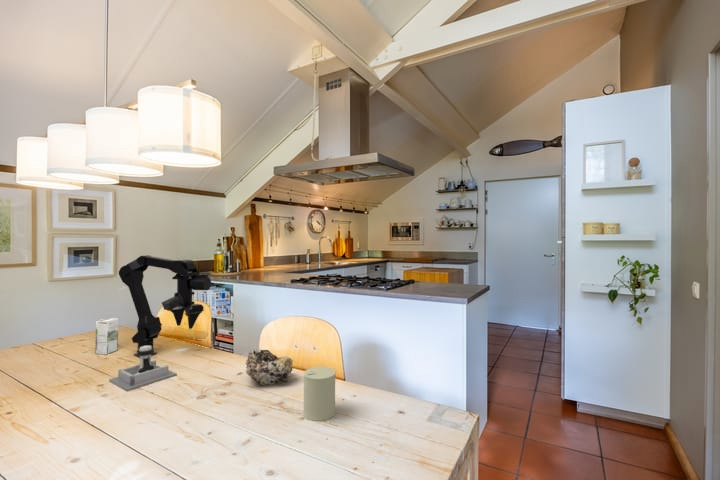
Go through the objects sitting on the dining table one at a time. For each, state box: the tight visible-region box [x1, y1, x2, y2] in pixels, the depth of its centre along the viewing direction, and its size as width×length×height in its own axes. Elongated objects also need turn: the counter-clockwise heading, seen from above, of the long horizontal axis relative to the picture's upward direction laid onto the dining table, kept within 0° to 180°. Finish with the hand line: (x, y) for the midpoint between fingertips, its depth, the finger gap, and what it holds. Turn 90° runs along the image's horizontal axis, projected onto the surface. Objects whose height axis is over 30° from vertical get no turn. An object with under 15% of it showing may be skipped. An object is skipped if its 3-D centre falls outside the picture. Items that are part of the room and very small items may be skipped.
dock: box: [108, 359, 178, 392], centre depth 120 cm, size 14×16×4 cm
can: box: [302, 366, 337, 422], centre depth 97 cm, size 9×9×12 cm
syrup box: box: [94, 317, 120, 355], centre depth 147 cm, size 6×6×14 cm
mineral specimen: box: [245, 348, 294, 386], centre depth 118 cm, size 16×18×10 cm
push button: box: [134, 345, 155, 375], centre depth 120 cm, size 7×5×10 cm
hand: (184, 327), depth 142 cm, fingers open, 9 cm apart
